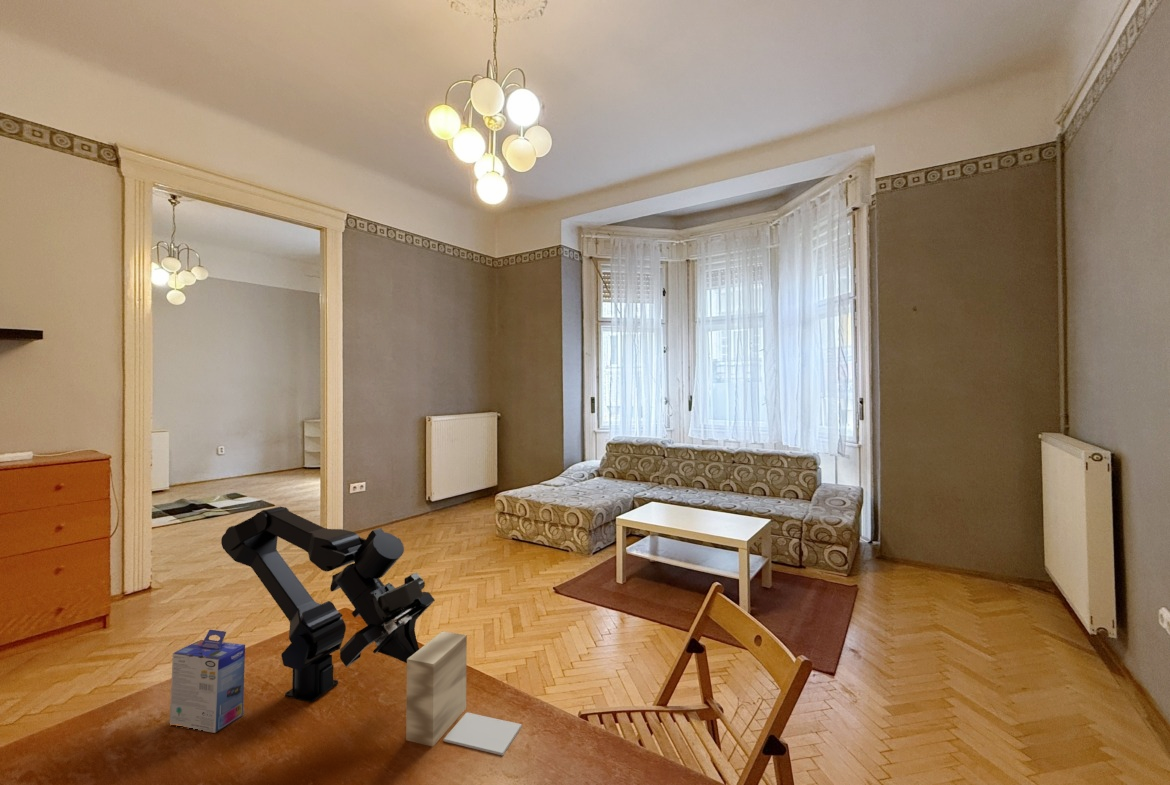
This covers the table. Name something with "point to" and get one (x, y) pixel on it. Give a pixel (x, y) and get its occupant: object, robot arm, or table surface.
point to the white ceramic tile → (483, 733)
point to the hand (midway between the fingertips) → (419, 664)
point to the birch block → (436, 687)
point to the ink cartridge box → (207, 684)
